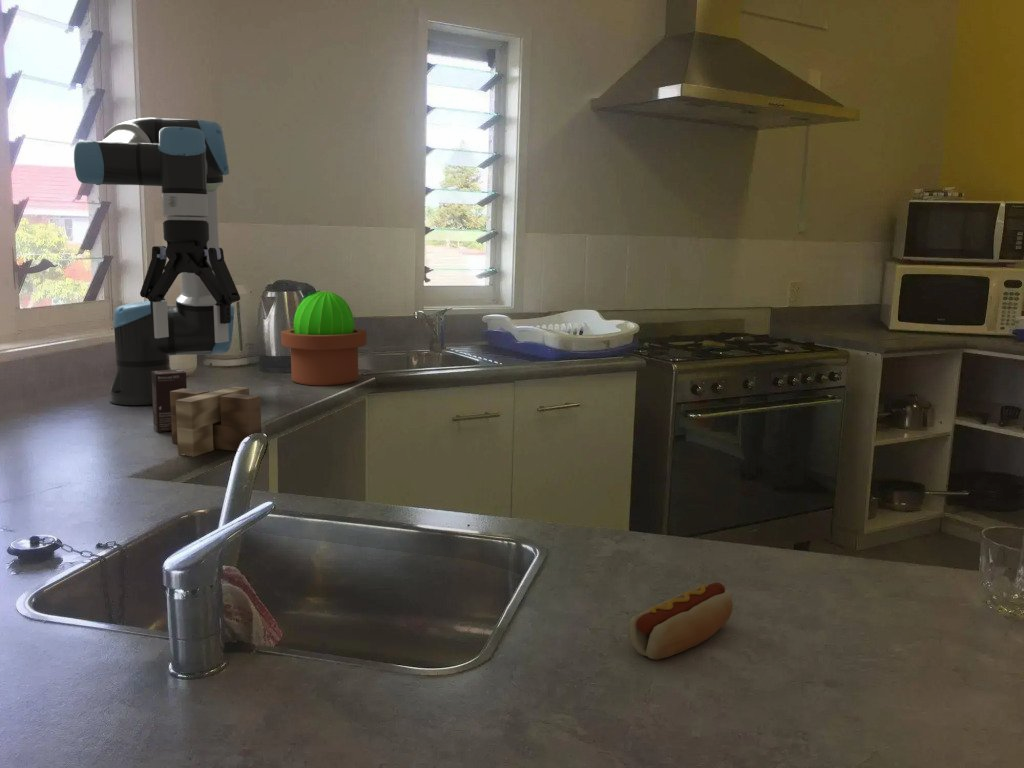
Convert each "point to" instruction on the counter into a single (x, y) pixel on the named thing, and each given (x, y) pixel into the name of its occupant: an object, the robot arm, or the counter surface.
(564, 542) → the counter surface
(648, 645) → the food
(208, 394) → the arched wooden block
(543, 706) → the counter surface
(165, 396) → the box
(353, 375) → the potted cactus
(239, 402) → the notched wooden block
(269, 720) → the counter surface
